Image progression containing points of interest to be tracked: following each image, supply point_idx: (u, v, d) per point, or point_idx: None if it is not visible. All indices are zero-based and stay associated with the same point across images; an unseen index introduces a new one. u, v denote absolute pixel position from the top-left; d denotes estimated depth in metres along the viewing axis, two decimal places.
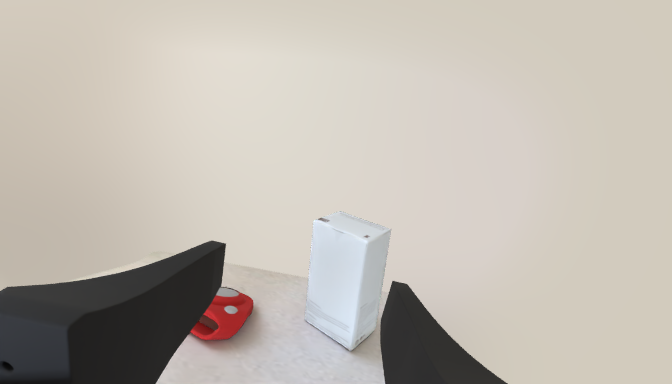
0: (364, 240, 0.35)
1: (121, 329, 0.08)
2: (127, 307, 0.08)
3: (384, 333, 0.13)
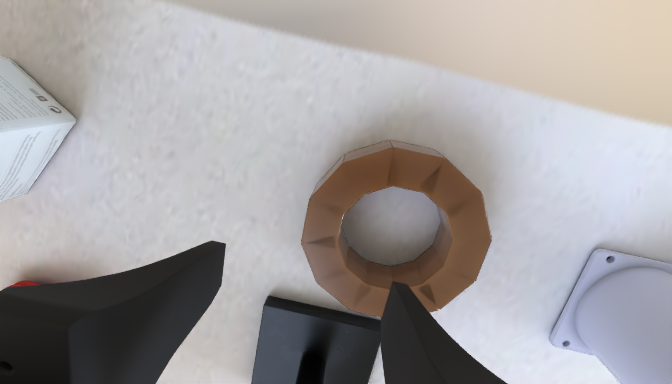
0: None
1: (120, 329, 0.08)
2: (127, 307, 0.08)
3: (384, 333, 0.13)
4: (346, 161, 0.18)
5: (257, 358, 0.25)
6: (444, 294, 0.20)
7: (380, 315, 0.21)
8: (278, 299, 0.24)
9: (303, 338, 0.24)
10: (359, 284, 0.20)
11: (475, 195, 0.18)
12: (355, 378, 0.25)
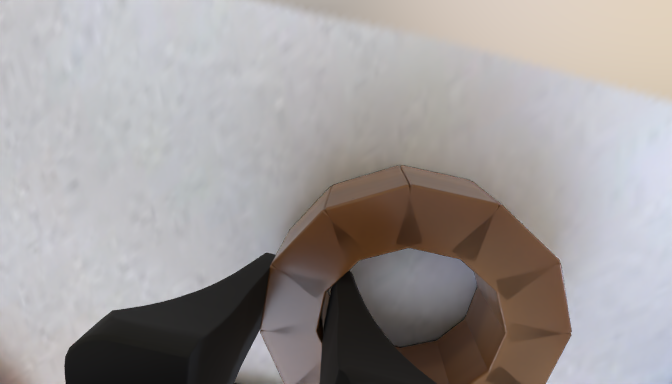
0: None
1: (216, 350, 0.07)
2: (221, 328, 0.08)
3: (325, 320, 0.13)
4: (330, 206, 0.11)
5: None
6: None
7: None
8: None
9: None
10: None
11: (549, 265, 0.11)
12: None
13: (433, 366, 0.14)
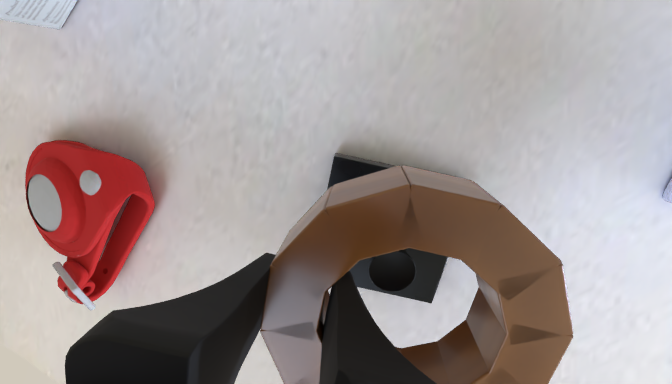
0: None
1: (216, 351, 0.07)
2: (221, 328, 0.08)
3: (325, 320, 0.13)
4: (330, 206, 0.11)
5: None
6: None
7: None
8: (348, 156, 0.21)
9: None
10: None
11: (550, 266, 0.11)
12: None
13: (434, 367, 0.14)
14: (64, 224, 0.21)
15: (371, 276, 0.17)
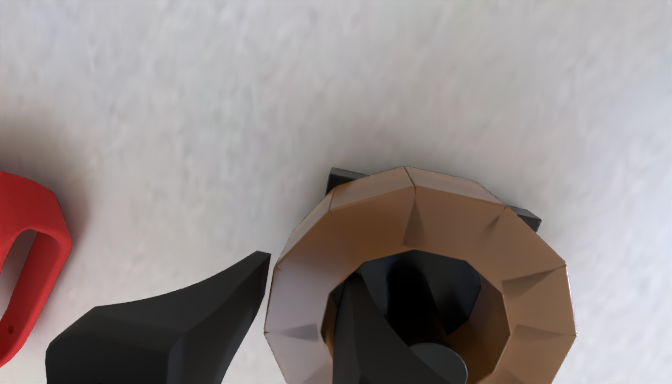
0: None
1: (200, 347, 0.07)
2: (205, 325, 0.08)
3: (336, 322, 0.13)
4: (334, 208, 0.11)
5: None
6: None
7: None
8: (350, 172, 0.14)
9: None
10: None
11: (554, 266, 0.11)
12: None
13: None
14: None
15: None
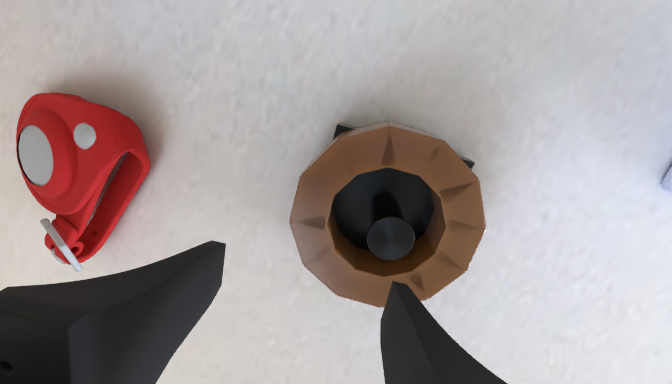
0: None
1: (121, 329, 0.08)
2: (127, 307, 0.08)
3: (384, 333, 0.12)
4: (341, 138, 0.17)
5: None
6: (434, 283, 0.19)
7: (367, 302, 0.20)
8: (350, 126, 0.21)
9: (378, 170, 0.21)
10: (347, 269, 0.20)
11: (472, 181, 0.17)
12: None
13: (401, 260, 0.21)
14: (55, 178, 0.20)
15: (369, 243, 0.17)
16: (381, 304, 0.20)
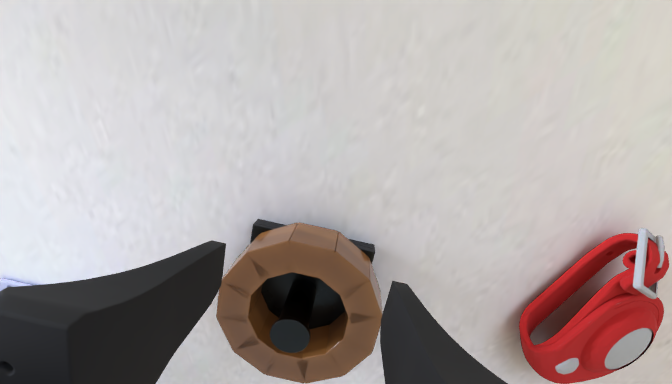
0: None
1: (121, 329, 0.08)
2: (127, 307, 0.08)
3: (384, 333, 0.13)
4: None
5: None
6: (244, 269, 0.21)
7: (303, 246, 0.20)
8: None
9: (312, 319, 0.25)
10: (327, 278, 0.20)
11: (237, 349, 0.23)
12: None
13: None
14: (613, 340, 0.21)
15: (307, 332, 0.20)
16: (289, 244, 0.20)
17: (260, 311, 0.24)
